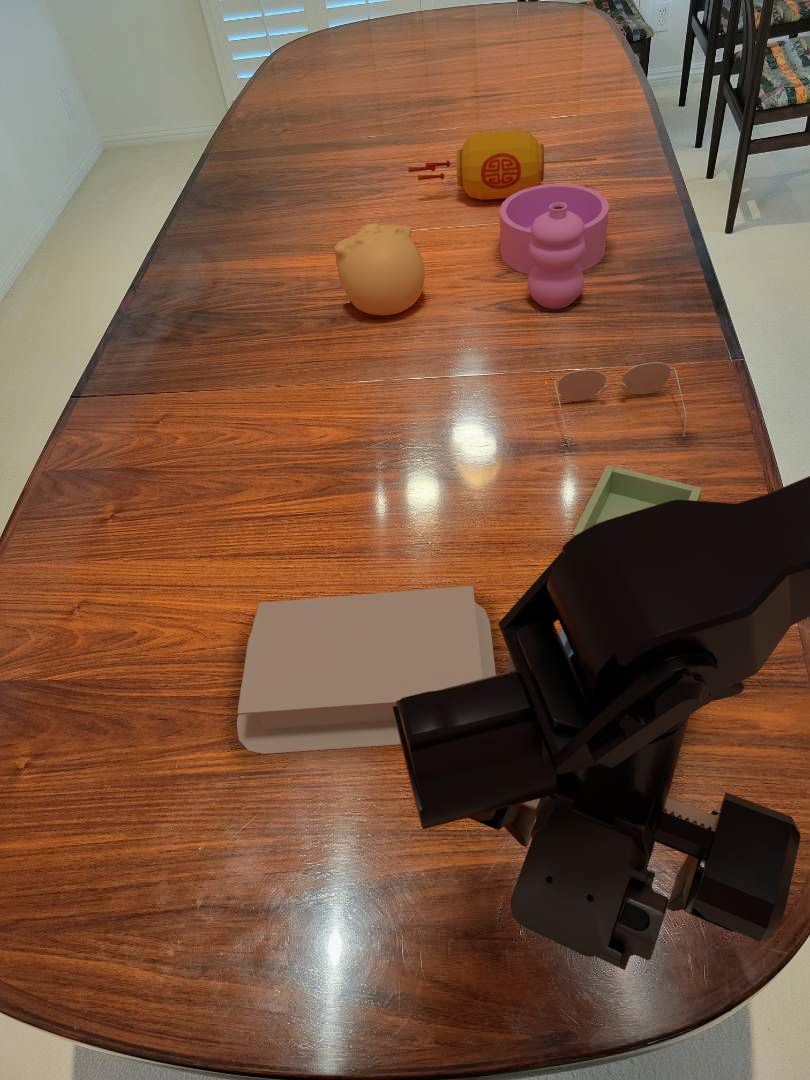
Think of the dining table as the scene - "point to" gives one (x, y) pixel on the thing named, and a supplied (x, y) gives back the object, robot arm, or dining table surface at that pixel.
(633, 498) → the right bin
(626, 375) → the sunglasses
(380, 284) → the sculpture
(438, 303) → the dining table surface
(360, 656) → the book
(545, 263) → the container set
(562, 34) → the dining table surface
